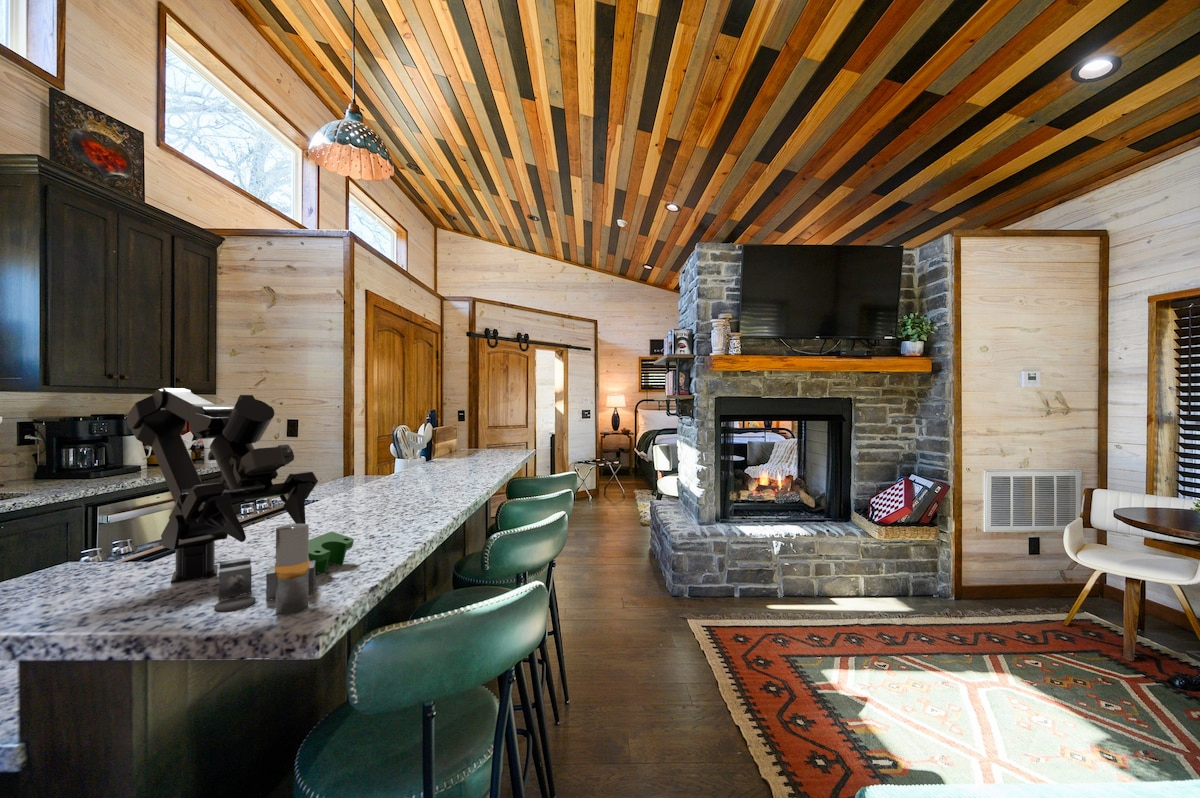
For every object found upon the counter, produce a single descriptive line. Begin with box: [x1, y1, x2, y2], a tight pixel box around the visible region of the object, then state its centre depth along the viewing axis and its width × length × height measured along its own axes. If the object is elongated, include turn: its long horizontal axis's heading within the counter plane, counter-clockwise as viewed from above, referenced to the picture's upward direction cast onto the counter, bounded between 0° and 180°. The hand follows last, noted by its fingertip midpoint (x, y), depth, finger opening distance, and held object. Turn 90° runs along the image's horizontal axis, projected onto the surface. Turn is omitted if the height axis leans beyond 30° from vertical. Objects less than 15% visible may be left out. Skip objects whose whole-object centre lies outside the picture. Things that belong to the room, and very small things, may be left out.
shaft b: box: [265, 560, 317, 601], centre depth 84 cm, size 7×4×4 cm, turn 117°
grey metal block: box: [218, 556, 252, 600], centre depth 86 cm, size 7×4×4 cm, turn 37°
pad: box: [213, 595, 257, 613], centre depth 79 cm, size 5×5×1 cm
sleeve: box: [274, 523, 310, 616], centre depth 78 cm, size 5×5×13 cm
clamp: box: [309, 531, 355, 575], centre depth 97 cm, size 12×6×9 cm, turn 166°
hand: (275, 533), depth 80 cm, fingers open, 9 cm apart
